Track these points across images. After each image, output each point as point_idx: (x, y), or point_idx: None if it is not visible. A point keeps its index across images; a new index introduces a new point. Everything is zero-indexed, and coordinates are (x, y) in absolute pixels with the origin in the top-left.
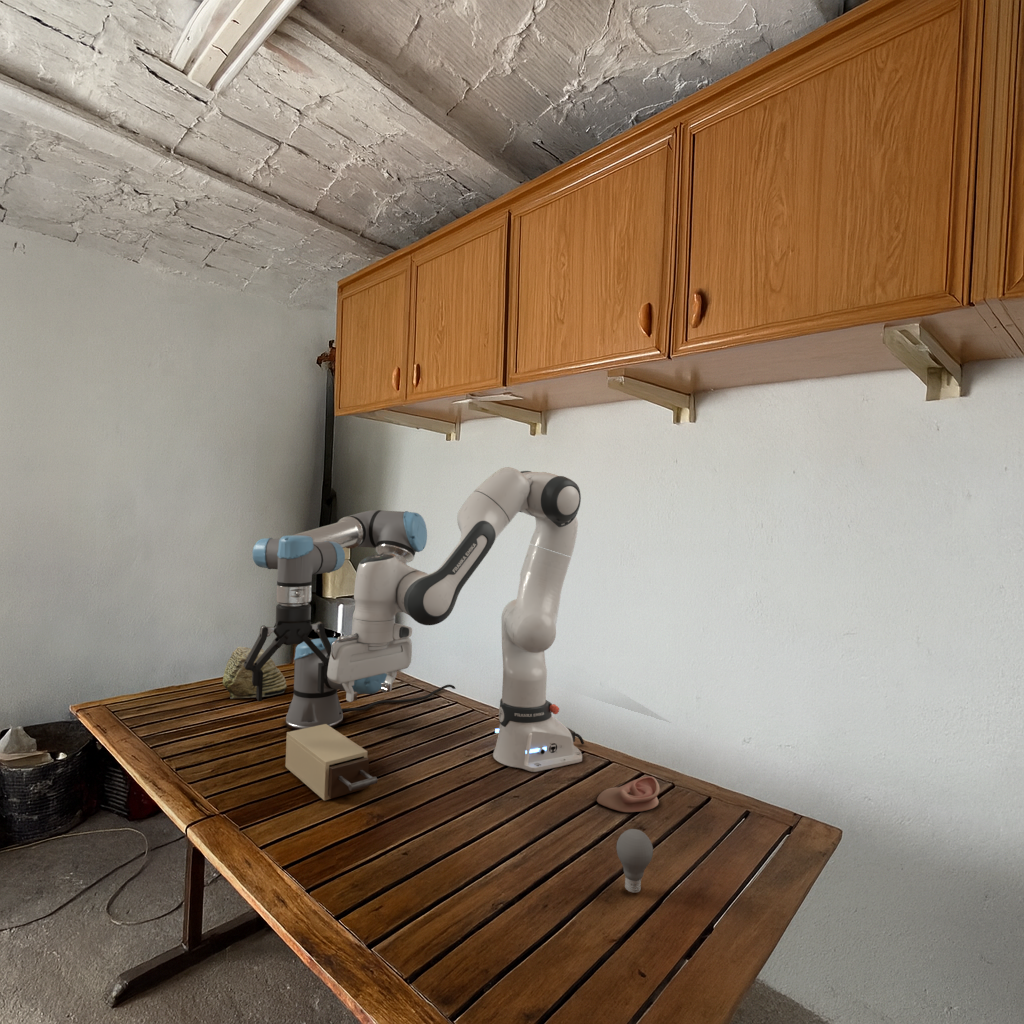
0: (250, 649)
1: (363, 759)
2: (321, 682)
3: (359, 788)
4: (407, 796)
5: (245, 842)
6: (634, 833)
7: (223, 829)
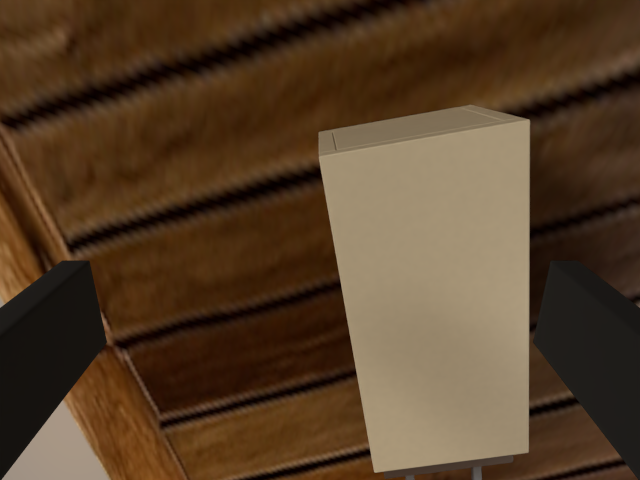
0: None
1: (496, 459)
2: (587, 403)
3: None
4: (547, 438)
5: (170, 470)
6: None
7: (126, 412)
